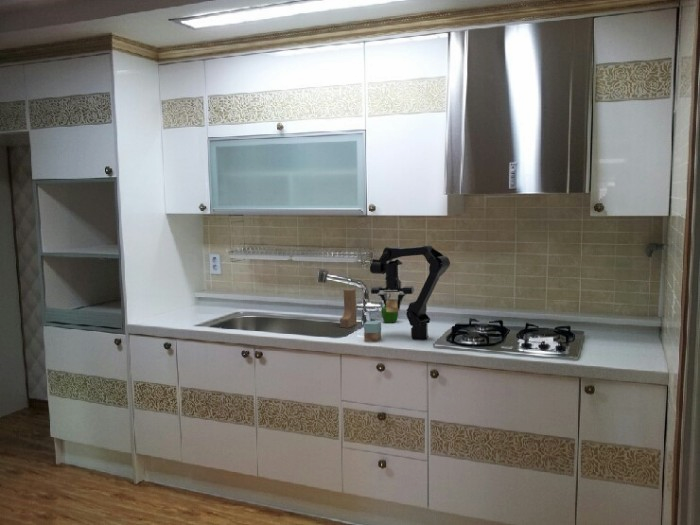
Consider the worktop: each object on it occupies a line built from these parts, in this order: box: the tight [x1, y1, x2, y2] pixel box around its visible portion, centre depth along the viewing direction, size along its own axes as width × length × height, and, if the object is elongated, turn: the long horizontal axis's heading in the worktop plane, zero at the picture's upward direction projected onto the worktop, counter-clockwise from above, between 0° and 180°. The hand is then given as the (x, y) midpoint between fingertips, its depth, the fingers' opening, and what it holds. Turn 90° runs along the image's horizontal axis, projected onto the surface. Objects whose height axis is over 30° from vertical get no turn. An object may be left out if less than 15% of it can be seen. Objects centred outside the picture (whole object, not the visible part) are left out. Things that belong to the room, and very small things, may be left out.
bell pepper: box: [381, 305, 399, 324], centre depth 311 cm, size 8×8×10 cm
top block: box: [363, 320, 382, 334], centre depth 272 cm, size 6×6×4 cm
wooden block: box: [339, 288, 358, 329], centre depth 305 cm, size 9×4×18 cm, turn 150°
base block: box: [363, 330, 382, 343], centre depth 273 cm, size 6×6×4 cm
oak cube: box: [386, 298, 401, 313], centre depth 280 cm, size 5×5×5 cm
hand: (393, 308), depth 280 cm, fingers closed on oak cube, 5 cm apart
